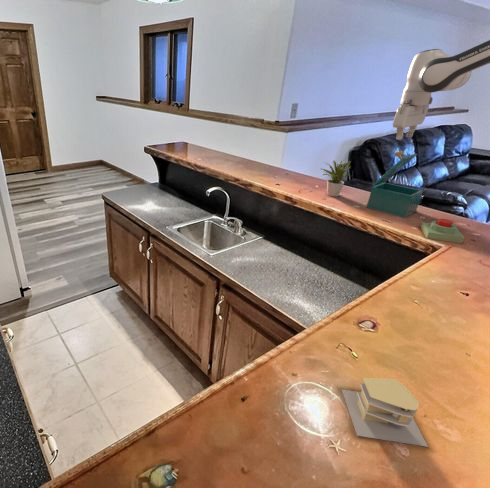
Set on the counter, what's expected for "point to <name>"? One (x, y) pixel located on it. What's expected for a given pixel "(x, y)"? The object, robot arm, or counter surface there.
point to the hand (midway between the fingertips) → (404, 138)
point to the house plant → (336, 178)
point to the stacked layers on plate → (384, 411)
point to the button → (444, 222)
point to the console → (441, 232)
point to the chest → (394, 199)
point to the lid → (395, 167)
